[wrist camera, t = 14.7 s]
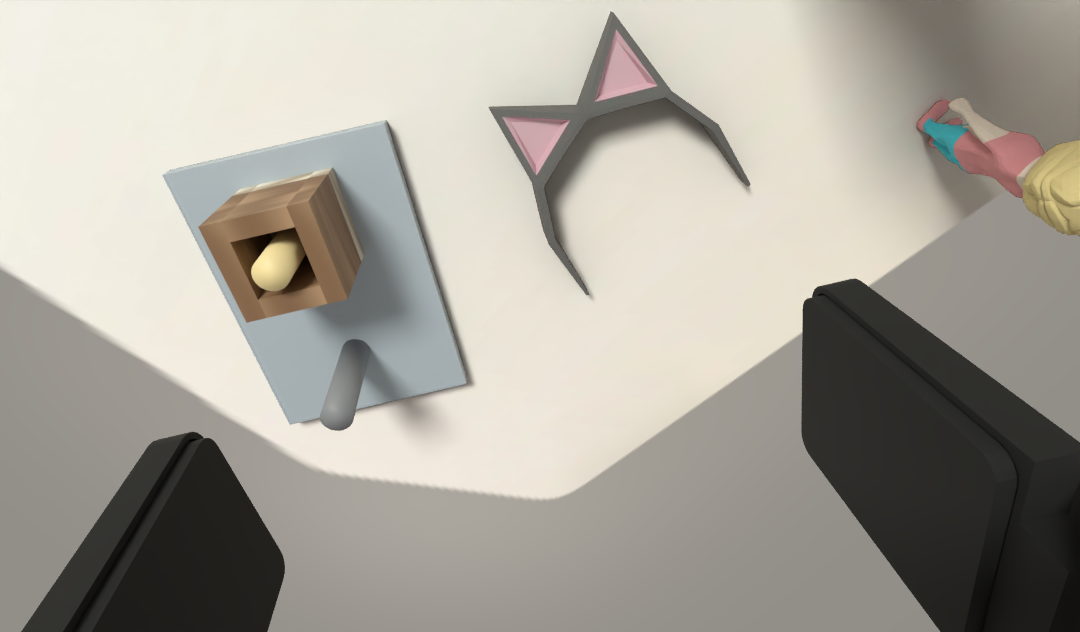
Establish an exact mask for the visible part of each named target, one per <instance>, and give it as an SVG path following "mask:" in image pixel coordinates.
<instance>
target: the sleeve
mask: <svg viewBox="0 0 1080 632" xmlns="http://www.w3.org/2000/svg"><path fill="white" fill-rule="evenodd" d="M294 227H295V228H296V231H297V233H298V235H299V238H300V240H301V243H302V245H303V247H304V250H305V252H306V255H305V256H304V258H303V260H302V261H301V263H300V265H299V266H298V268H297V270H296V272H295V273H294V275H293V277H292V278H291V280H290V282H289V283H288V285H287V286H286V287H285V288H284V289H282V290H279V291H268V290H265V289H263V288H261V287H259V286H258V285H257V284H256V283H255V282H254V280H253V278H252V275H251V269H252V266H253V264H254V263H255V262H256V260H257V259H258V258H259V256H260V255H261V254H262V252H263V251H264V250H265V248H266V247H267V246H268V244H269V243H270V242H271V240H272V239H273V238H274V236H275V235H276V234H277V232H278V231H281V230H285V229H289V228H294ZM198 228H199V230H200V232H201V234H202V236H203V238H204V240H205V242H206V244H207V246H208V248H209V250H210V252H211V253H212V255H213V257H214V259H215V261H216V263H217V265H218V267H219V269H220V271H221V273H222V275H223V277H224V279H225V281H226V283H227V285H228V287H229V289H230V291H231V293H232V295H233V297H234V299H235V301H236V303H237V305H238V307H239V309H240V311H241V313H242V315H243V317H244V319H245V321H246V323H248V322H252V321H256V320H261V319H265V318H269V317H273V316H278V315H282V314H286V313H291V312H295V311H299V310H303V309H308V308H312V307H316V306H320V305H325V304H329V303H333V302H338V301H342V300H346V299H348V297H349V294H350V292H351V289H352V286H353V283H354V281H355V278H356V275H357V273H358V270H359V267H360V264H361V262H362V259H363V256H364V250H363V248H362V245H361V242H360V239H359V237H358V234H357V231H356V229H355V226H354V223H353V221H352V218H351V215H350V213H349V210H348V207H347V205H346V202H345V199H344V197H343V194H342V191H341V189H340V186H339V183H338V180H337V178H336V175H335V172H334V170H333V167H332V168H328V169H323V170H319V171H315V172H310V173H306V174H302V175H298V176H293V177H289V178H285V179H280V180H276V181H272V182H268V183H263V184H259V185H255V186H250V187H246V188H242V189H239V190H238V191H237V192H236V193H235V194H234V195H233V196H232V197H230V198H229V199H228V200H227V201H226V202H225V203H224V204H223V205H222V206H221V207H219V208H218V209H217V210H216V211H215V212H214V213H213V214H212V215H211V216H210V217H208V218H207V219H206V220H205V221H204V222H203V223H202V224H201V225H200V226H198Z"/></svg>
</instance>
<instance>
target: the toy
mask: <svg viewBox="0 0 1080 632" xmlns="http://www.w3.org/2000/svg"><path fill="white" fill-rule="evenodd" d="M949 108H950V109H951V110H953V111H954V112H956V113H959V114H961V115H963V117H964V118H965V120H966V121H967V123H968V124H966V125H961V124H962V120H961V119H960V118H956V119H953V120H951V121H949V122H947V123H946V124H941V123H935V122H936V120H937V119H938V118H940V117H941V116H942V115H943V114H945V113H946V112H947V110H948V109H949ZM917 127H918V129H919V130H921V131H923V132H925V133H927V134H929V135H930V136H931V138H930V140H929V145H930V146H931V147H937V148H938V149H939V150H940V152H941V153H942V154H943V155H944V156H945V157H946V158H947V159H948V160H949V161H951V162H953V163H956V164H958V166H959V167H960V168H961V169H962V170H964V171H966V172H967V173H970V174H982V175H986V176H990V177H993V178H995V179H996V180H997V181H998V182H999V183H1000V184H1001V185H1002V186H1003V187H1004V188H1005V189H1006V190H1008V191H1009V192H1010V193H1012V194H1013V195H1015V196H1016V197H1019V198H1023V202H1024V203H1025V206H1026V208H1027V209H1028V210H1029V211H1030V212H1032V213H1033V214H1035V215H1036V216H1038V217H1040V218H1042V219H1043V220H1044V221H1045V222H1046V223H1047V224H1048V225H1049V226H1051V227H1053V228H1055V229H1056V230H1057V231H1058V232H1061V233H1063V234H1068V235H1074V234H1076V235H1078V236H1080V139H1079V140H1075V141H1071V142H1066V143H1061V144H1058V145H1056V146H1054V147H1053V148H1051V149H1050V150H1048V151H1047V152H1046V153H1044V151H1043V149H1042V147H1041V146H1040V144H1039V143H1038V141H1037V140H1036V139H1035V138H1034V137H1033V136H1030V135H1028V134H1023V133H1017V132H1012V131H1007V130H1004V129H1001V128H999V127H997V126H995V125H994V124H992V123H991V122H989V121H987V120H986V119H984V118H983V117H981V116H980V115H978V114H977V113H976V112H975V111H973V109H972V107H971V104H970V103H969V101H968V100H967V99H965V98H957V99H954V100H953V101H951V102H950V101H948V100H941V101H938V102H937V103H936V104H935V105H934V106H933V107H932V108H931V109H930V110H929V111H928V112H927V113H926V114H925V115H924V116H923V117H922V118H921V119H920V120H919V122H918V123H917Z"/></svg>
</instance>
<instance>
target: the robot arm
mask: <svg viewBox="0 0 1080 632" xmlns="http://www.w3.org/2000/svg"><path fill="white" fill-rule="evenodd" d="M802 344H803V345H802V346H803V347H802V438H803V442H804V445H805V447H806V450H807V452H808V453H809V455H810V456H811V458H812V459H813V460H814V462H815V463H816V465H817V466H818V467H819V469H820V470H821V471H822V473H823V474H824V475H825V477H826V478H827V479H828V481H829V482H830V483H831V485H832V486H833V487H834V489H835V490H836V491H837V493H838V494H839V495H840V497H841V498H842V500H843V501H844V502H845V504H846V505H847V506H848V508H849V509H850V510H851V512H852V513H853V514H854V516H855V517H856V518H857V520H858V521H859V522H860V524H861V525H862V526H863V528H864V529H865V530H866V532H867V533H868V535H869V536H870V537H871V539H872V540H873V541H874V543H875V544H876V545H877V547H878V548H879V549H880V551H881V552H882V553H883V555H884V556H885V557H886V559H887V560H888V561H889V563H890V564H891V565H892V567H893V568H894V570H895V571H896V572H897V574H898V575H899V576H900V578H901V579H902V580H903V582H904V583H905V584H906V586H907V587H908V589H909V590H910V591H911V592H912V594H913V595H914V597H915V598H916V599H917V601H918V602H919V603H920V605H921V606H922V607H923V609H924V610H925V611H926V613H927V614H928V615H929V617H930V618H931V619H932V621H933V622H934V624H935V625H936V626H937V627H938V629H939V630H940V632H1080V442H1078V441H1077V440H1076V439H1074V438H1073V437H1072V436H1070V435H1069V434H1067V433H1066V432H1065V431H1064V430H1062V429H1061V428H1059V427H1058V426H1057V425H1055V424H1054V423H1053V422H1051V421H1050V420H1049V419H1047V418H1046V417H1044V416H1043V415H1042V414H1040V413H1039V412H1038V411H1036V410H1035V409H1034V408H1032V407H1031V406H1030V405H1028V404H1027V403H1025V402H1024V401H1023V400H1021V399H1020V398H1019V397H1017V396H1016V395H1015V394H1013V393H1012V392H1010V391H1009V390H1008V389H1007V388H1005V387H1004V386H1002V385H1001V384H1000V383H998V382H997V381H996V380H994V379H993V378H991V377H990V376H989V375H988V374H986V373H985V372H983V371H982V370H981V369H979V368H978V367H977V366H975V365H974V364H973V363H971V362H970V361H969V360H967V359H966V358H965V357H963V356H962V355H960V354H959V353H958V352H956V351H955V350H953V349H952V348H951V347H949V346H948V345H947V344H946V343H944V342H943V341H941V340H940V339H939V338H937V337H936V336H934V335H933V334H932V333H931V332H929V331H928V330H927V329H925V328H923V327H922V326H921V325H920V324H918V323H917V322H916V321H914V320H913V319H912V318H910V317H909V316H908V315H906V314H905V313H903V312H902V311H901V310H899V309H898V308H897V307H895V306H894V305H892V304H891V303H890V302H889V301H887V300H886V299H884V298H883V297H882V296H880V295H879V294H878V293H876V292H875V291H874V290H872V289H871V288H870V287H868V286H867V285H866V284H864V283H863V282H861V281H860V280H858V279H849V280H845V281H841V282H836V283H832V284H828V285H823V286H819V287H817V288H816V289H815V290H814V292H813V295H812V298H809V299H806V300H805V302H804V304H803V343H802ZM284 573H285V565H284V559H283V555H282V553H281V551H280V549H279V548H278V546H277V545H276V543H275V541H274V539H273V538H272V536H271V534H270V533H269V531H268V529H267V528H266V526H265V524H264V523H263V521H262V519H261V518H260V516H259V514H258V512H257V511H256V509H255V507H254V506H253V504H252V502H251V501H250V499H249V497H248V496H247V494H246V492H245V491H244V489H243V487H242V486H241V484H240V482H239V481H238V479H237V477H236V476H235V474H234V473H233V471H232V469H231V467H230V466H229V464H228V462H227V461H226V459H225V457H224V456H223V454H222V452H221V451H220V449H219V447H218V446H217V444H216V443H215V442H214V441H213V440H212V439H210V438H205V439H204V438H203V437H202V436H201V435H200V434H198V433H196V432H189V433H185V434H181V435H176V436H172V437H168V438H163V439H159V440H156V441H153V442H152V443H151V444H150V445H149V446H148V447H147V449H146V450H145V452H144V453H143V455H142V456H141V458H140V459H139V461H138V462H137V463H136V465H135V466H134V468H133V470H132V471H131V472H130V474H129V475H128V477H127V478H126V480H125V481H124V483H123V484H122V485H121V487H120V489H119V490H118V492H117V493H116V494H115V496H114V497H113V499H112V500H111V502H110V503H109V505H108V506H107V507H106V509H105V510H104V512H103V513H102V515H101V516H100V518H99V519H98V520H97V522H96V523H95V525H94V526H93V528H92V529H91V531H90V532H89V534H88V535H87V537H86V538H85V539H84V541H83V542H82V544H81V545H80V547H79V548H78V550H77V551H76V553H75V554H74V556H73V557H72V558H71V560H70V561H69V563H68V564H67V566H66V567H65V569H64V570H63V572H62V573H61V575H60V576H59V578H58V579H57V580H56V582H55V583H54V585H53V586H52V588H51V589H50V591H49V592H48V594H47V595H46V596H45V598H44V600H43V601H42V602H41V604H40V605H39V607H38V608H37V610H36V611H35V613H34V614H33V616H32V617H31V619H30V620H29V621H28V623H27V624H26V626H25V627H24V629H23V630H22V632H267V631H268V627H269V624H270V621H271V617H272V614H273V611H274V608H275V605H276V601H277V598H278V595H279V591H280V588H281V585H282V581H283V578H284Z"/></svg>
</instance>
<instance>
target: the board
mask: <svg viewBox="0 0 1080 632" xmlns="http://www.w3.org/2000/svg"><path fill="white" fill-rule="evenodd" d="M332 167H333V170H334V172H335V175H336V178H337V180H338V183H339V186H340V189H341V191H342V194H343V197H344V199H345V202H346V205H347V207H348V210H349V213H350V215H351V218H352V221H353V223H354V226H355V229H356V231H357V234H358V237H359V239H360V242H361V245H362V248H363V250H364V256H363V259H362V262H361V264H360V267H359V270H358V273H357V275H356V278H355V281H354V283H353V286H352V289H351V292H350V294H349V297H348V299H346V300H342V301H338V302H333V303H329V304H325V305H320V306H316V307H312V308H308V309H303V310H299V311H295V312H291V313H286V314H282V315H278V316H273V317H269V318H265V319H261V320H256V321H252V322H248V323H246V321H245V319H244V317H243V315H242V313H241V311H240V309H239V307H238V305H237V303H236V301H235V299H234V297H233V295H232V293H231V291H230V289H229V287H228V285H227V283H226V281H225V279H224V277H223V275H222V273H221V271H220V269H219V267H218V265H217V263H216V261H215V259H214V257H213V255H212V253H211V252H210V250H209V248H208V246H207V244H206V242H205V240H204V238H203V236H202V234H201V232H200V230H199V228H198V226H200V225H201V224H202V223H203V222H204V221H205V220H206V219H207V218H208V217H210V216H211V215H212V214H213V213H214V212H215V211H216V210H217V209H218V208H219V207H221V206H222V205H223V204H224V203H225V202H226V201H227V200H228V199H229V198H230V197H232V196H233V195H234V194H235V193H236V192H237V191H238V190H239V189H242V188H246V187H250V186H255V185H259V184H263V183H268V182H272V181H276V180H280V179H285V178H289V177H293V176H298V175H302V174H306V173H310V172H315V171H319V170H323V169H328V168H332ZM163 177H164V179H165V181H166V183H167V185H168V187H169V189H170V191H171V193H172V195H173V197H174V199H175V201H176V203H177V205H178V207H179V209H180V210H181V212H182V214H183V216H184V218H185V220H186V222H187V224H188V226H189V228H190V230H191V232H192V234H193V236H194V238H195V240H196V242H197V244H198V246H199V248H200V250H201V252H202V254H203V256H204V257H205V259H206V261H207V263H208V265H209V267H210V269H211V271H212V273H213V275H214V277H215V279H216V281H217V283H218V285H219V287H220V289H221V291H222V293H223V295H224V297H225V299H226V301H227V302H228V304H229V306H230V308H231V310H232V312H233V314H234V316H235V318H236V320H237V322H238V324H239V326H240V328H241V330H242V332H243V334H244V336H245V338H246V340H247V342H248V344H249V346H250V347H251V349H252V351H253V353H254V355H255V357H256V359H257V361H258V363H259V365H260V367H261V369H262V371H263V373H264V375H265V377H266V379H267V381H268V383H269V385H270V387H271V389H272V391H273V393H274V394H275V396H276V398H277V400H278V402H279V404H280V406H281V408H282V410H283V412H284V414H285V416H286V418H287V420H288V422H289V424H290V425H291V424H295V423H299V422H304V421H308V420H312V419H317V418H320V420H321V422H322V424H323V425H324V426H325V427H327V428H329V429H331V430H344V429H346V428H348V427H349V426H350V425H351V424H352V422H353V419H354V415H355V411H356V409H360V408H364V407H368V406H373V405H377V404H381V403H386V402H390V401H394V400H399V399H403V398H407V397H411V396H416V395H420V394H424V393H429V392H433V391H437V390H442V389H446V388H450V387H455V386H459V385H463V384H466V372H465V369H464V366H463V363H462V360H461V356H460V353H459V350H458V347H457V344H456V341H455V337H454V334H453V331H452V328H451V325H450V321H449V318H448V315H447V312H446V309H445V306H444V302H443V299H442V296H441V293H440V290H439V287H438V283H437V280H436V277H435V274H434V271H433V268H432V264H431V261H430V258H429V255H428V252H427V248H426V245H425V242H424V239H423V236H422V233H421V229H420V226H419V223H418V220H417V217H416V214H415V210H414V207H413V204H412V201H411V198H410V195H409V191H408V188H407V185H406V182H405V179H404V175H403V172H402V169H401V166H400V163H399V160H398V156H397V153H396V150H395V147H394V144H393V141H392V137H391V134H390V131H389V128H388V125H387V121H386V120H385V121H380V122H376V123H372V124H367V125H363V126H359V127H354V128H350V129H346V130H341V131H337V132H333V133H328V134H324V135H320V136H315V137H311V138H307V139H302V140H298V141H294V142H289V143H285V144H281V145H276V146H272V147H268V148H263V149H259V150H255V151H250V152H246V153H242V154H237V155H233V156H229V157H224V158H220V159H216V160H211V161H207V162H203V163H198V164H194V165H190V166H185V167H181V168H177V169H172V170H170V171H168V172H166V173H165V174H163ZM305 255H306V252H305V250H304V247H303V245H302V243H301V240H300V238H299V235H298V233H297V231H296V228H295V227H294V228H289V229H285V230H281V231H278V232H277V234H276V235H275V236H274V238H273V239H272V240H271V242H270V243H269V244H268V246H267V247H266V248H265V250H264V251H263V252H262V254H261V255H260V256H259V258H258V259H257V260H256V262H255V263H254V264H253V266H252V269H251V275H252V278H253V280H254V282H255V283H256V284H257V285H258V286H259V287H261V288H263V289H265V290H268V291H279V290H282V289H284V288H285V287H286V286H287V285H288V283H289V282H290V280H291V278H292V277H293V275H294V273H295V272H296V270H297V268H298V266H299V265H300V263H301V261H302V260H303V258H304V256H305Z"/></svg>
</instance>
